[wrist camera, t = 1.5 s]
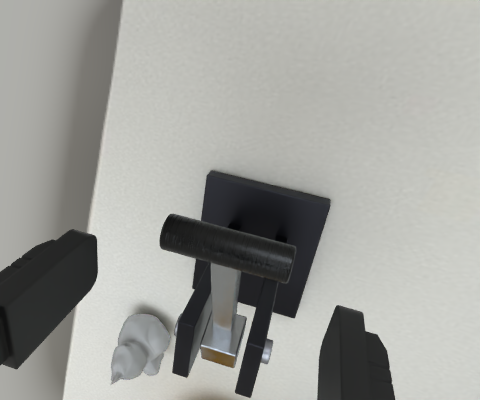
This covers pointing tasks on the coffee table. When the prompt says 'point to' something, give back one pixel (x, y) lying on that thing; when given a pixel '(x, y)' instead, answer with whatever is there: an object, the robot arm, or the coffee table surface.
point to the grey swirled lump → (139, 347)
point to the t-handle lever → (226, 275)
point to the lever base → (251, 286)
